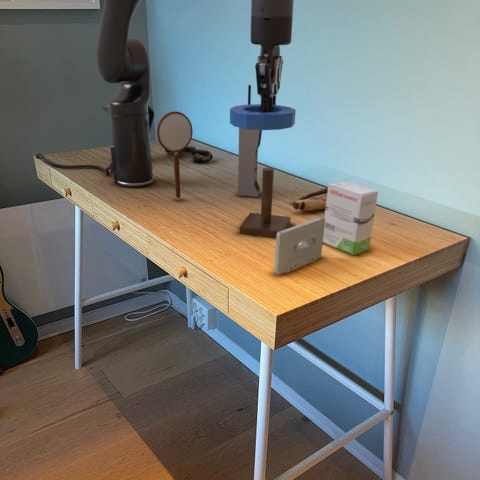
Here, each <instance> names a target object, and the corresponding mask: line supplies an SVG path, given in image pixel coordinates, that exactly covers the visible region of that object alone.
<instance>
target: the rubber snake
mask: <svg viewBox="0 0 480 480" xmlns="http://www.w3.org/2000/svg"><path fill="white" fill-rule="evenodd" d="M164 151H165V153H167V154H170V153H172V152H170V151H167V150H166V149H164ZM180 152H181V153H191V154H192V159H193V162H195V163H197V164H206V163H209V162H210V161H212V160H213V157H214V156H213V154H212V152H211V151H209V150H208V149H207V150H206V149H200V148H199V149H198V148H196V147H195V146H193V145H191V146H190V145H188V146H187V147H186V148H185V149H183V150H182V151H179V152H178V153H180Z"/></svg>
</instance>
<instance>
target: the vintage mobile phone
mask: <svg viewBox="0 0 480 480" xmlns="http://www.w3.org/2000/svg"><path fill="white" fill-rule="evenodd" d="M247 87H248V88H247V89H248V90H247V105H250V104H252V103H251V101H252V99H251V98H252V84H248V85H247ZM262 134H263V130H253V129H244V128H239V127H238V156H237V157H238V160H237V161H238V164H237V166H238V167H237V195H238V197H249V198H258V196H259V195H260V194H261V193H260V192H261V187H260V185H259V182H258V156H259V149H260V146H261V141H262Z"/></svg>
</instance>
